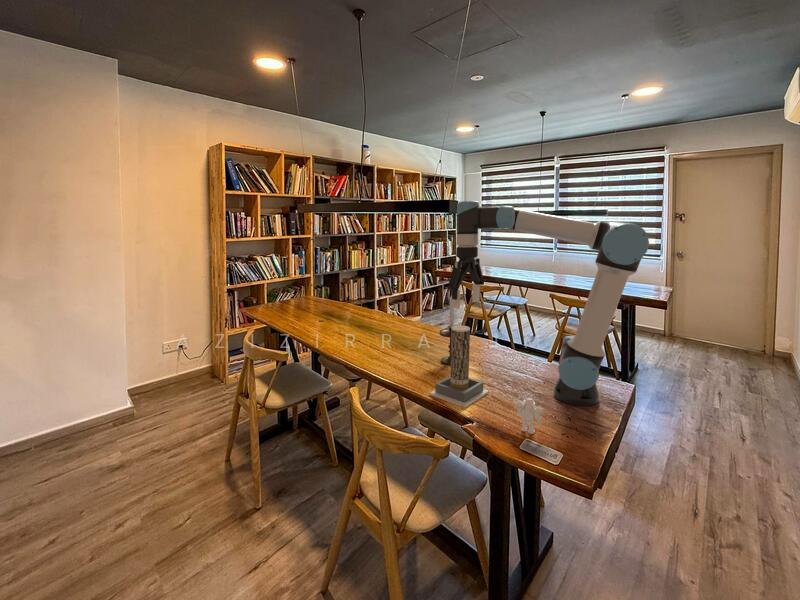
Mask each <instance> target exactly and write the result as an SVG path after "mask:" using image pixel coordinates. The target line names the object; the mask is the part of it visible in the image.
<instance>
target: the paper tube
mask: <svg viewBox="0 0 800 600" xmlns="http://www.w3.org/2000/svg"><path fill="white" fill-rule="evenodd" d="M470 336H471V328H470V326H467V325H462V324H459V325H456V324H455V325H454V326H452V327H451V365H450V375H449V376H450V387H452V388H455V389H458V390H461V391H465V390H467V389H468V382H469V378H470V377H469V376H470V348H471V347H470V345H471V344H470V343H471V342H470V339H471V337H470Z"/></svg>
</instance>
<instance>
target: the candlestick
mask: <svg viewBox="0 0 800 600" xmlns="http://www.w3.org/2000/svg"><path fill="white" fill-rule="evenodd" d="M450 291H451V293H450V294H451V296H450V297H449V322H448V323H449V325H447V328H443V329H441V330H439V336H441V337H443V338H449V345H448V346H447V347H448V349H449V350H448V353H449V356H444V357H442V358H440V362H441V364H443V365H446V366H451V327H452V326H455V325H454V324H455V322H454V320H455V319H454V318H455V308H452V290H450Z"/></svg>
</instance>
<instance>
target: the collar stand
mask: <svg viewBox="0 0 800 600" xmlns="http://www.w3.org/2000/svg"><path fill="white" fill-rule="evenodd" d="M484 384H485V383H484V382H483V381H481V380H478V379H475V378H471V377H469V382H468V389H467V390H465V391H461V390H458V389H455V388H452V387H450V375H449V376H448V377H446V378H443V379H442V380H439V381H437V382H436V383H435V386H434V389H433V390H431V391H429V396H432V397H434V398H437V399H440V400H443V401H446V402H448V403H450V402H451V403H450V404H454V405H456V404H457V406H458V405H459V406H460V407H461V406H463V407H462V408H464V407H465V409H467V408H468V407H469V405H470V406H471V405H473V404H474V403H475V402H478V401H479V400H480V399H482V398H484V397H486V396H487V395H488V394H489V393H490V392H489V390H487V389H486V388H485V389H484ZM486 394H487V395H486ZM472 403H473V404H472ZM467 406H468V407H467ZM466 407H467V408H466Z"/></svg>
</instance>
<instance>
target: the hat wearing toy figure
mask: <svg viewBox="0 0 800 600" xmlns="http://www.w3.org/2000/svg"><path fill="white" fill-rule="evenodd" d="M519 397H520V398H522V399H523V402H522V399H519V400H516V402H515V403H514V406H515V408H516V409H517V413H516V416H517V417H522V425H521V429H520V430H521V431H522V432H527V433H528V434H530V435H534V434H535V433H536V431H535V422H534V421H535V420H536V422H537V423H538V424H539V425H542V423H543V420H542V419H541V418H540V417H539V416H540V415H542V416H544V415H545V413H544V409H543V407H542V406H541V405H539V406H536V401H534V399H533V398H531V397H527V396H526V395H523V394H521V393H520V394H519ZM534 418H535V419H534ZM528 424H529V426H528Z"/></svg>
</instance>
